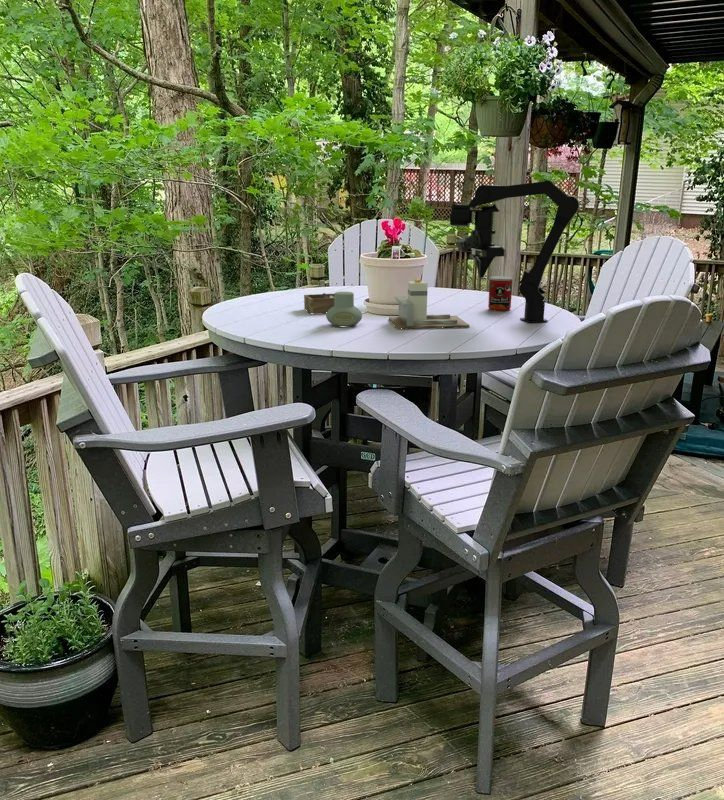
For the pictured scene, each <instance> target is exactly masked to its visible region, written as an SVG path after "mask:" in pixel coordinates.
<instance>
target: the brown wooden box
mask: <svg viewBox="0 0 724 800" xmlns="http://www.w3.org/2000/svg"><path fill="white" fill-rule="evenodd" d="M322 294H323V293H319V294H304V295H303V297H304V298H303V299H304V301H303V303H304V305H303V306H304V308H303V309H304V310H305V309H306V310H307V311H308V312H307V311H306V310H305V311H306V312H307V313H309V312H310V313H324V314H327V313H326V312H328V310H329V309H331V308H332V307H334V298H329V297H330V295H331V296H333V297H334V294H335V293H327V294H328V298H321V295H322ZM317 297H318V299H317ZM310 313H309V314H310Z"/></svg>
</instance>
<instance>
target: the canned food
mask: <svg viewBox="0 0 724 800" xmlns="http://www.w3.org/2000/svg"><path fill="white" fill-rule="evenodd" d="M488 284H489V285H488V287H489V289H488V310H489V309H490V311H492V310H496V311H495V312H506V311H505V310H508V311H510V310H511V308H512V297H513V295H512V294H513V293H512V292H513V277H512V276H507V275H493V276H490V277H489V283H488Z"/></svg>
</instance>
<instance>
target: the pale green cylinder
mask: <svg viewBox="0 0 724 800" xmlns="http://www.w3.org/2000/svg"><path fill="white" fill-rule="evenodd" d="M407 299H409V300H410V301H411V302H412V303H413V304H414V321H418V320H427V315H428V312H427V311H428V282H426V281H425V280H421V279H418V278H416V279H414V280H412V281H411V280H409V281H407Z"/></svg>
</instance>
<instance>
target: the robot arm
mask: <svg viewBox="0 0 724 800" xmlns="http://www.w3.org/2000/svg"><path fill="white" fill-rule="evenodd" d="M538 195H545V196H546V197H548V199H550V200H551V201H552V202H553V203H554V204H555V205H556V206H557V210H556V213H555V215H554V216H555V217H554V220H553V221H554V222H553V224H552V226H551V228H550V231H549V232H548V234H547V236H546V239H545V241H544V243H543V245H542V247H541V249H540V251H539V253H538V255H537V257H536V259H535V261H534V264H533V265H532V267H531V268H530V270H529V269H528V268H526V269H525V270H524V272H523V275H522V277H521V279H520V280H519V281H518V284H519V288H518V290H519V294H520V295H521V296H522V297H524V299H525V300H524V301H525V304H524V316H523V317H519V320H521V321H523V322H526V323H531V324H534V323H548V322H549V320H548V319H545V306H546V302H545V298H546V295H547V293H546V292H545V290H544V289H543V288H541V284H542V282H543V281H542V280H543V279H544V278H543V277H544V273H545V271H546V268H547V266H548V263H549V262H550V260H551V258H552V256H553V254H554V251H555V250H556V248H557V245H558V244H559V241H560V239H561V237H562V235H563V233H564V231H565V229H566V228H567V226H568V225H569V224H570V222H571V221H572V219H573V218H574V217H575V215H576V214H577V213H578V211H579V209H580V201H579V199H578V198H577V197H576V196H574V195H568V194H566V193H565V192H564V191H563V190H562V189H561V188H560V187H558V186H557V185H556V184H555V183H554V182H553V181H552V180H550V179H547V180H543V181H537V182H528V183H520V184H518V183H517V184H512V185H495V184H481V185H479V186H478V187H477V188H476V189H475V191H474V197H473V198H472V199H471V200H470V201H469V204H461V203H460V204H459V203H452V204H451V205H452V206H451V207H452V208H451V211H450V215H449V223H450V227H470V225H471V224H473V223H474V229H471V231H470V235H467V236H465V237H462V238H460V239H457V240H456V241H455V243H456V247H457V251H458V252H460V251H461V252H462V253H469V252H471V254H469V256H470V257H471V258H472V259H473V260H474V262H475V265H476V269H477V273H478V274H477V275H478V278H480V279H481V278H484V277H485V275H486V273H487V271H488V269H489V267H490V266H491V263H492V262H493V261H494V259H495V258H497V257H499V258H500V257H505V253H506V250H505V248H504V247H503V246H498V245H497V246H496V243H493V237H494V236H493V235H495V234H496V230H494V218H495V217H494V215H495V213H498V212H501V209H500V208H499V207H498V205H497V203H496V202H498V201H501V200H505V199H509V198H510V199H511V198H518V197H527V196H528V197H529V196H538ZM493 203H494V204H493ZM488 204H492V205H488ZM482 205H484V206H482ZM487 205H488V206H487ZM481 206H482V207H481ZM479 207H481V209H475V208H479ZM473 208H474V209H473Z"/></svg>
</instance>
